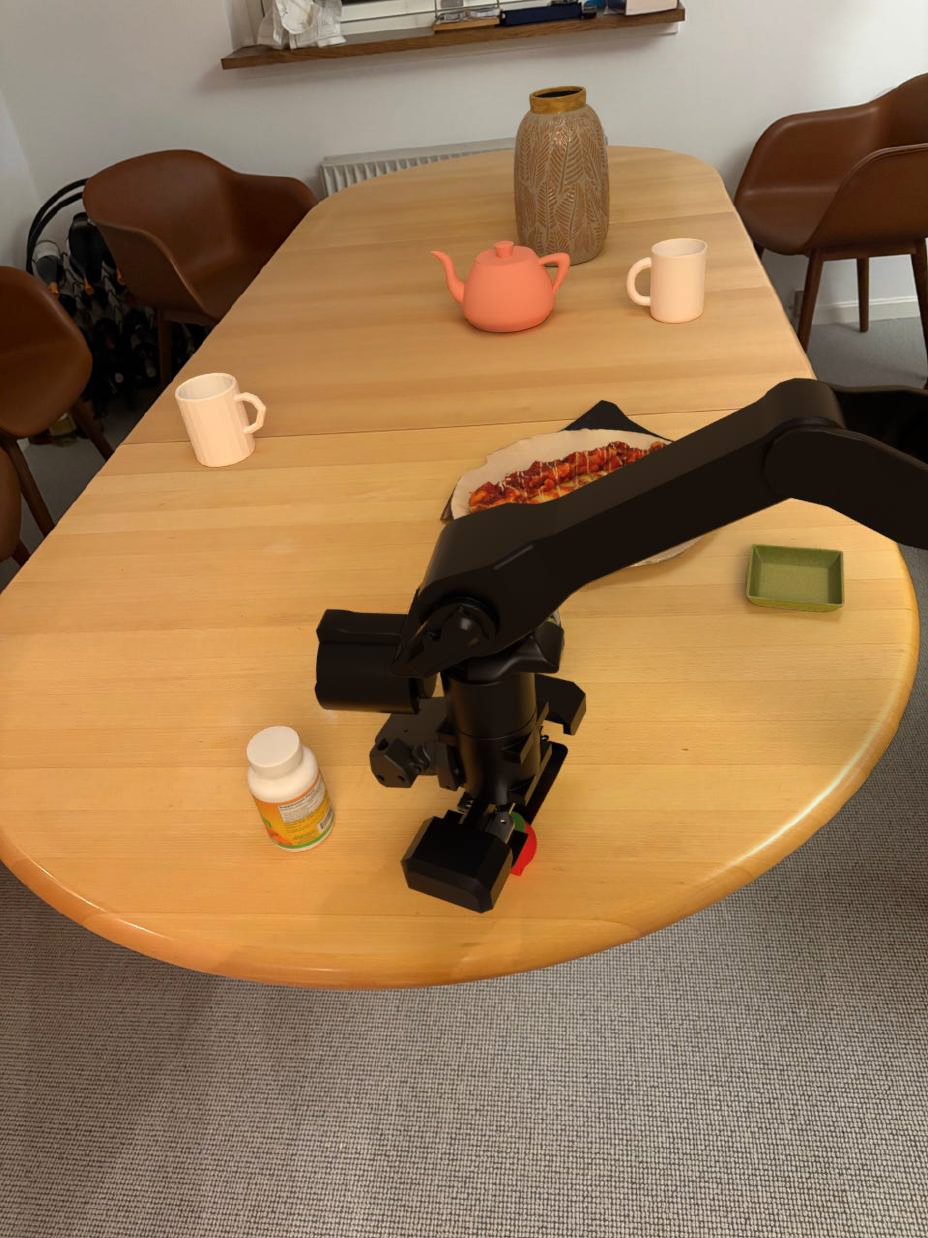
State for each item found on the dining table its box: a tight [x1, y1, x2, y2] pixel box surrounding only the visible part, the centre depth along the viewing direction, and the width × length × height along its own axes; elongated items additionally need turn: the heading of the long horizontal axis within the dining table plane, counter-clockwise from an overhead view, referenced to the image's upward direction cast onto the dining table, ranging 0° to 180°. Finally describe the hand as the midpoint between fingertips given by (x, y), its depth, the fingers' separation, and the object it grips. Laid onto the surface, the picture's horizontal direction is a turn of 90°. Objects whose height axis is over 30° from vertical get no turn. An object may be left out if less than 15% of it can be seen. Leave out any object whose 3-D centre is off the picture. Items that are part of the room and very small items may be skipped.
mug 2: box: [625, 237, 708, 324], centre depth 137 cm, size 12×8×10 cm
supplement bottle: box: [246, 725, 336, 853], centre depth 68 cm, size 5×5×10 cm
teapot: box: [429, 240, 571, 333], centre depth 142 cm, size 22×15×12 cm
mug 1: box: [174, 372, 267, 468], centre depth 117 cm, size 8×12×10 cm
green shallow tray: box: [745, 543, 846, 613], centre depth 85 cm, size 9×9×2 cm
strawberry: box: [509, 811, 538, 877], centre depth 65 cm, size 4×4×4 cm
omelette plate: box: [439, 399, 706, 568], centre depth 101 cm, size 31×35×7 cm
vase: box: [513, 85, 611, 267], centre depth 158 cm, size 17×17×27 cm
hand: (510, 850), depth 66 cm, fingers closed on strawberry, 4 cm apart
